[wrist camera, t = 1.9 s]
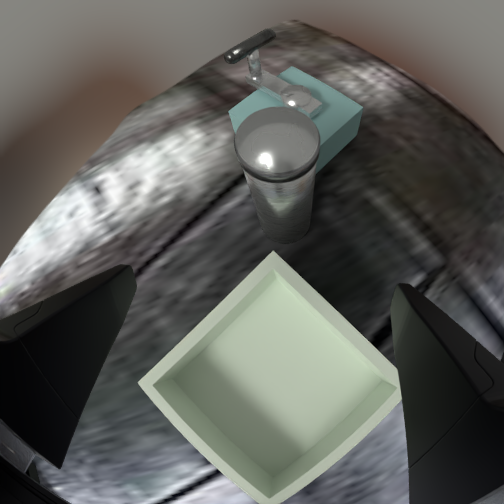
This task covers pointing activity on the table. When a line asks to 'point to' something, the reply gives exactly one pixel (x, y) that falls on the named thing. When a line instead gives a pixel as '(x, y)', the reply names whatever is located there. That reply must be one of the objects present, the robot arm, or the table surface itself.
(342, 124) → the crank block
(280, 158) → the pin
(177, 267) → the table surface
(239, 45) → the crank handle
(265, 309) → the tray
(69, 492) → the table surface
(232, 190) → the table surface
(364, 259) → the table surface
